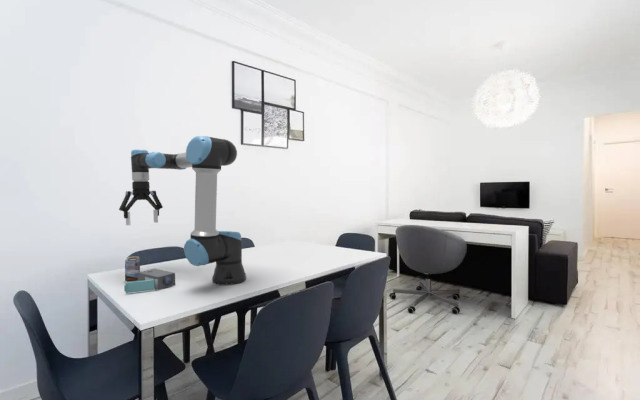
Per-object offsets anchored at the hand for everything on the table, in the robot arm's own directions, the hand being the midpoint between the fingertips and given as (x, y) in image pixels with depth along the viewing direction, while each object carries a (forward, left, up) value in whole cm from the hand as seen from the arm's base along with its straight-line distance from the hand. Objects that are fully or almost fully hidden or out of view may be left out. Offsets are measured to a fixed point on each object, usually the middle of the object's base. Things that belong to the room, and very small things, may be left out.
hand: (142, 223), depth 165 cm
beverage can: (-7, +10, -26) cm, 29 cm away
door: (-26, +16, -25) cm, 40 cm away
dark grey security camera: (-22, +7, -26) cm, 34 cm away
